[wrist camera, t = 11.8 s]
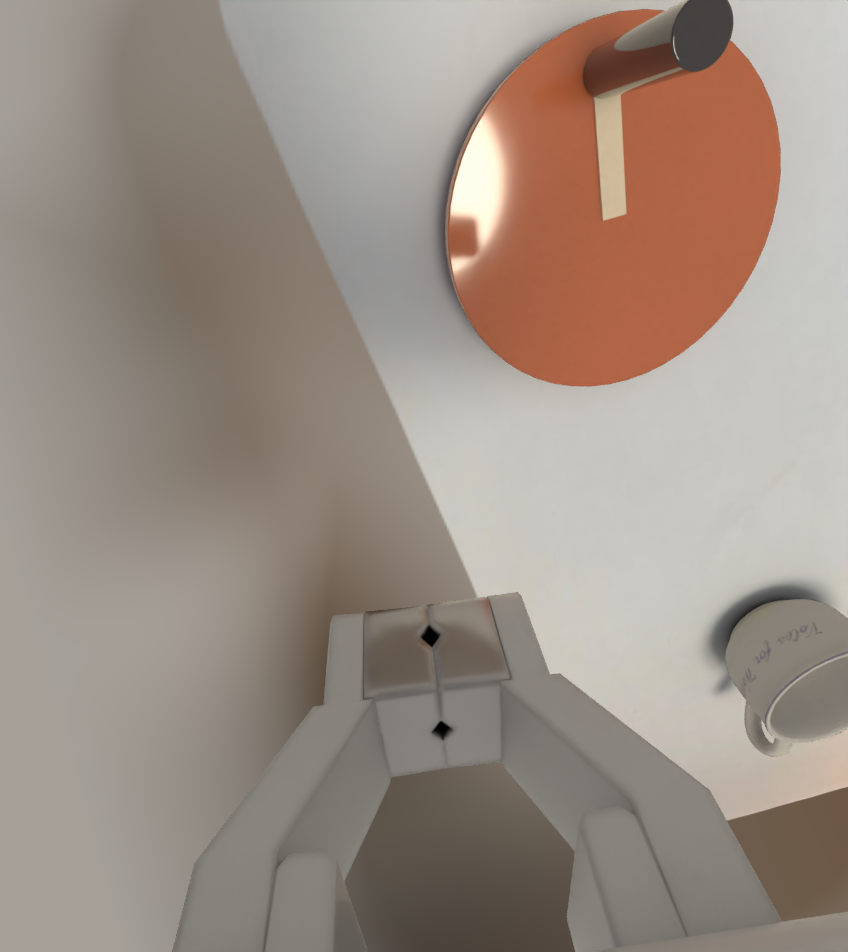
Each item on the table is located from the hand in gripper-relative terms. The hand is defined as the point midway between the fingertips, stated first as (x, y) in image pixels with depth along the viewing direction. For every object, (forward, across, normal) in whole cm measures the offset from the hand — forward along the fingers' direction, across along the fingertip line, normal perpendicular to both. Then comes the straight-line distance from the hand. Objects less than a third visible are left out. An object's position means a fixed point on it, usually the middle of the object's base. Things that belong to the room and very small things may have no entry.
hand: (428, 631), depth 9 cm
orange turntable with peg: (+23, -12, -3) cm, 27 cm away
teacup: (+25, -30, +33) cm, 51 cm away
